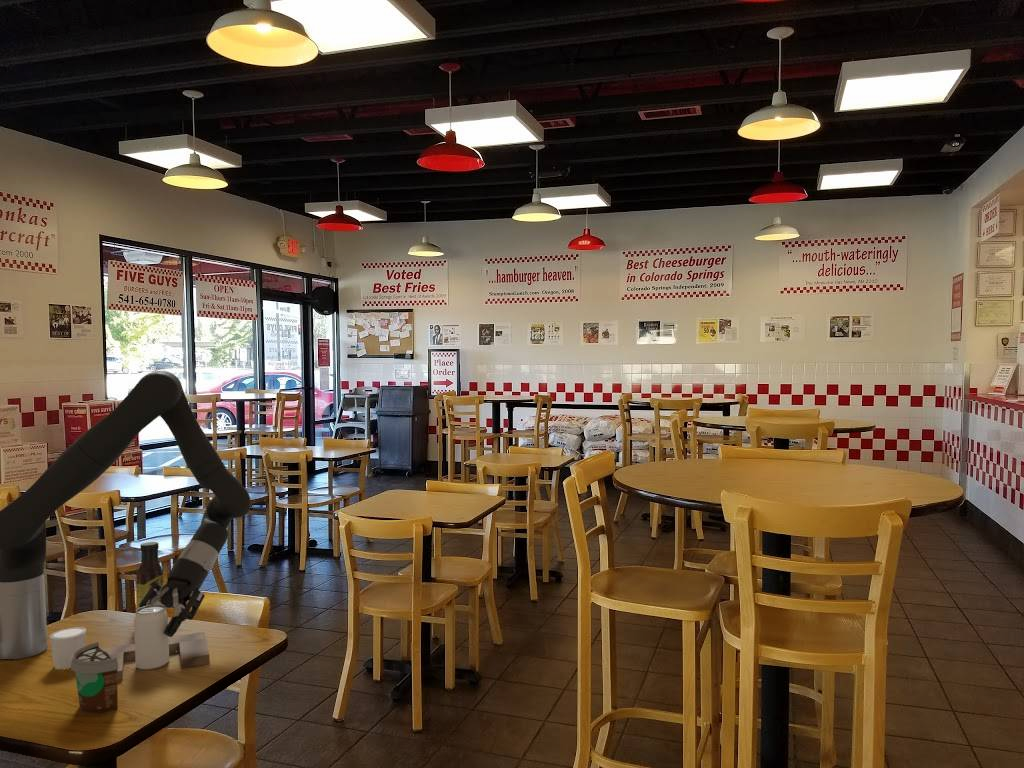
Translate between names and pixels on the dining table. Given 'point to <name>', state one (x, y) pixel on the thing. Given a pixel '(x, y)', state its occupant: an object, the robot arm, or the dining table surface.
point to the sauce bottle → (148, 571)
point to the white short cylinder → (66, 645)
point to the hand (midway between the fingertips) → (153, 632)
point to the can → (151, 637)
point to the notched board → (188, 645)
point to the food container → (95, 679)
